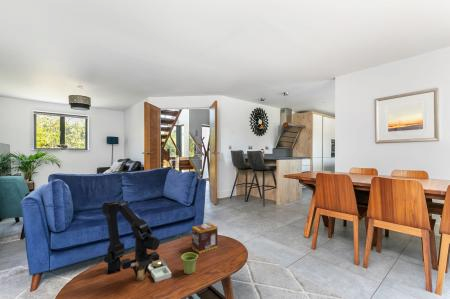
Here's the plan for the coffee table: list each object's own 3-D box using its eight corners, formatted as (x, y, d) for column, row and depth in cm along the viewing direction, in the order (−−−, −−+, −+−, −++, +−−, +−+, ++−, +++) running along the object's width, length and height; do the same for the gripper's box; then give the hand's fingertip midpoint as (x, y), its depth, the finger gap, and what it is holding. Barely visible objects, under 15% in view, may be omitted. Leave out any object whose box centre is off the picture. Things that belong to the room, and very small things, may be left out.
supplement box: (191, 248, 155) (191, 226, 156) (209, 243, 165) (209, 222, 165) (199, 253, 147) (199, 230, 147) (217, 247, 156) (217, 226, 157)
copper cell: (137, 281, 115) (137, 268, 115) (135, 278, 119) (135, 265, 119) (145, 279, 117) (145, 266, 118) (143, 275, 121) (143, 262, 121)
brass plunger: (153, 268, 126) (153, 265, 126) (151, 264, 131) (151, 261, 131) (162, 265, 129) (162, 262, 129) (160, 261, 134) (160, 258, 134)
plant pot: (197, 266, 131) (197, 251, 131) (198, 275, 122) (198, 259, 122) (181, 267, 129) (181, 253, 129) (180, 276, 120) (181, 260, 120)
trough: (155, 282, 115) (155, 277, 115) (150, 274, 122) (150, 270, 122) (171, 277, 120) (171, 272, 120) (165, 270, 127) (166, 265, 127)
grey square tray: (150, 273, 123) (150, 271, 123) (145, 265, 131) (145, 263, 131) (168, 268, 129) (168, 266, 129) (162, 261, 137) (162, 259, 137)
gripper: (124, 257, 106) (124, 289, 106) (162, 248, 117) (162, 277, 117) (121, 248, 116) (120, 278, 115) (156, 240, 126) (156, 268, 126)
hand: (140, 275), depth 118 cm, fingers closed on copper cell, 4 cm apart
